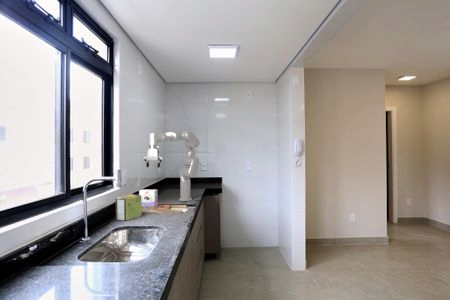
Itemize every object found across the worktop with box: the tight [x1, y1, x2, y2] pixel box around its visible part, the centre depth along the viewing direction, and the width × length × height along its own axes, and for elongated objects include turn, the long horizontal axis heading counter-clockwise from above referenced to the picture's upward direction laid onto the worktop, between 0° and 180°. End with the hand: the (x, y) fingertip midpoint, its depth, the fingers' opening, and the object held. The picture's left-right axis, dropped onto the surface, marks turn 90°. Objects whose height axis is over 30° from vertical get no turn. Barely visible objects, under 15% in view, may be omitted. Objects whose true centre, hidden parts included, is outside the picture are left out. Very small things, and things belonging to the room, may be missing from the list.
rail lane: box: [142, 204, 188, 214], centre depth 209 cm, size 15×38×2 cm, turn 83°
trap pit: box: [157, 204, 171, 209], centre depth 208 cm, size 11×7×3 cm, turn 173°
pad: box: [170, 208, 189, 214], centre depth 207 cm, size 11×15×1 cm
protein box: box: [115, 194, 143, 222], centre depth 187 cm, size 10×15×16 cm
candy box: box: [138, 189, 159, 209], centre depth 210 cm, size 14×6×16 cm, turn 84°
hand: (153, 167), depth 218 cm, fingers open, 9 cm apart
